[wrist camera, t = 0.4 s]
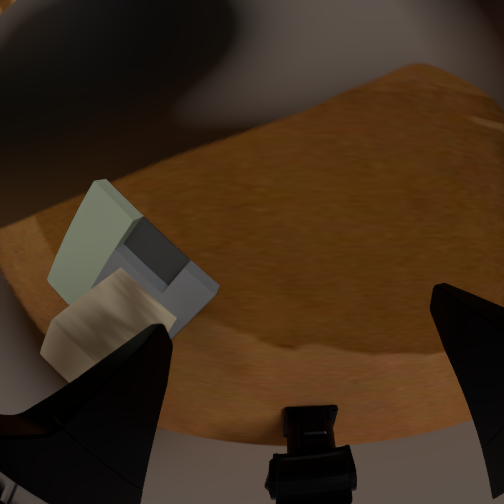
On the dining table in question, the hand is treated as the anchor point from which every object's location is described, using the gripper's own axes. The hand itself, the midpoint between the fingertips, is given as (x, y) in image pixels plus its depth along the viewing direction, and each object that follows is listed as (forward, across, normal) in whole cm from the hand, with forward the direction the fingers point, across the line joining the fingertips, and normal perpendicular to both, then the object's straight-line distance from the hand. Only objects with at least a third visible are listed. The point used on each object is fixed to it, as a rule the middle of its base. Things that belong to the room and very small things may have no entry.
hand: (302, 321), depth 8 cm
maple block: (+13, +15, +7) cm, 21 cm away
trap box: (+15, +17, +5) cm, 23 cm away
